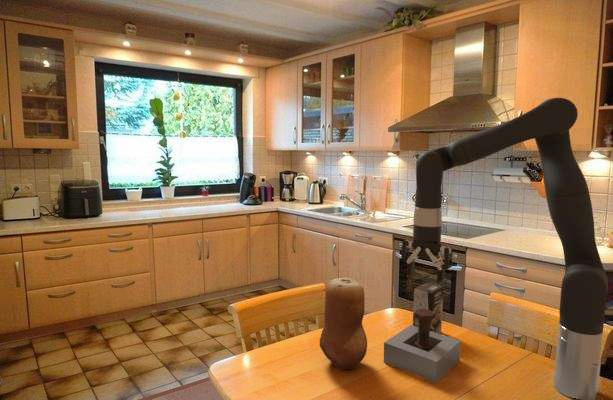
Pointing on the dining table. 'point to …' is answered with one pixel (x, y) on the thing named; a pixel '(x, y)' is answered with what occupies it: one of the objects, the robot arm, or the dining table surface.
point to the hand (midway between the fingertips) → (425, 279)
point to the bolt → (424, 328)
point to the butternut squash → (344, 323)
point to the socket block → (422, 354)
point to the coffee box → (429, 304)
